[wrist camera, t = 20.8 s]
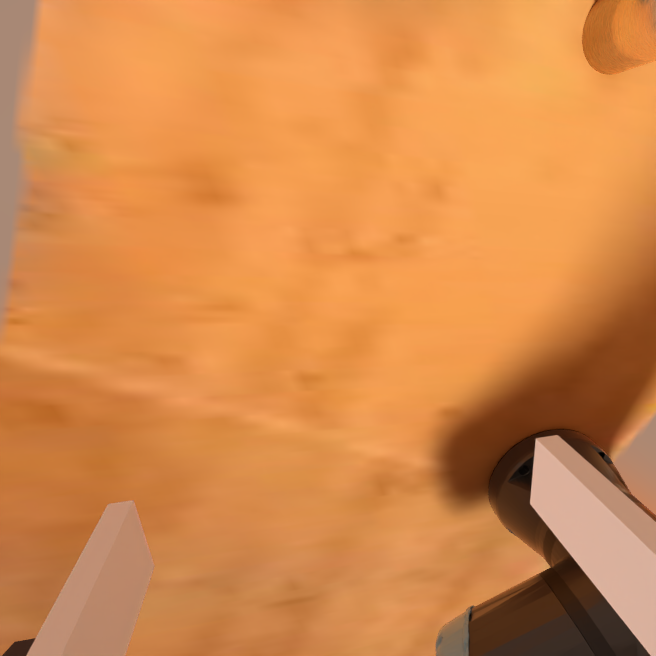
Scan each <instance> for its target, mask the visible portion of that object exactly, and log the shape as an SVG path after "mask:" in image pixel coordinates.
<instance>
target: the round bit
mask: <svg viewBox="0 0 656 656" xmlns="http://www.w3.org/2000/svg"><path fill="white" fill-rule="evenodd" d="M582 44H583V51H584V54H585V57H586V59H587V61H588V63H589V64H590V65H591V66H592V67H593V68H594V69H595V70H596V71H598V72H600V73H603V74H617V73H620V72H623V71H626V70H629V69H632V68H635V67H638V66H641V65H644V64H647V63H650V62H653V61H656V0H598V1H597V2H596V3H595V4H594V6H593V7H592V8H591V10H590V12H589V14H588V16H587V18H586V21H585V24H584V28H583V35H582Z"/></svg>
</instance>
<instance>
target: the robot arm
mask: <svg viewBox="0 0 656 656" xmlns="http://www.w3.org/2000/svg"><path fill="white" fill-rule="evenodd" d="M488 495H489V501H490V505H491V507H492V509H493V511H494V512H495V514H496V515H497V517H498V518H499V520H500V521H501V523H502V524H503V525H504V526H505V527H506V529H508V530H509V531H510V532H511V533H513V534H514V535H516V536H517V537H518V538H520V539H521V540H522V541H523V542H524V543H526V544H527V545H528V546H529V547H531V548H532V549H533V550H534V551H536V552H537V553H538V554H540V555H541V556H542V557H543V558H544V559H545V560H546V561H547V563H548V564H549V565H550V567H551V568H549V569H547V570H545V571H543V572H541V573H539V574H537V575H535V576H533V577H531V578H530V579H528V580H526V581H524V582H522V583H520V584H518V585H516V586H514V587H512V588H510V589H508V590H506V591H505V592H503V593H501V594H499V595H497V596H495V597H493V598H491V599H489V600H487V601H485V602H483V603H482V604H480V605H478V606H476V607H475V606H470V607H469V608H468V609H467V610H466V612H465V613H463V614H461V615H460V616H458V617H456V618H455V619H453V620H452V621H450V622H448V623H447V624H445V625H444V626H443V627H442V628H441V630H440V631H439V633H438V636H437V640H436V656H656V515H655V514H654V513H653V512H651V511H650V510H649V509H648V508H647V507H645V506H644V505H643V504H642V503H641V502H640V501H639V500H637V499H636V498H635V497H634V496H633V495H632V494H631V492H630V490H629V489H628V487H627V485H626V484H625V482H624V480H623V479H622V477H621V476H620V474H619V472H618V471H617V469H616V467H615V466H614V464H613V463H612V461H611V459H610V458H609V456H608V455H607V453H606V452H605V451H604V450H603V449H602V448H601V447H599V446H598V445H597V444H596V443H594V442H593V441H592V440H591V439H590V438H588V437H587V436H585V435H583V434H581V433H579V432H576V431H572V430H564V429H558V430H549V431H545V432H541V433H538V434H535V435H533V436H531V437H529V438H527V439H525V440H523V441H521V442H520V443H518V444H517V445H516V446H514V447H513V448H512V449H511V450H510V451H508V452H507V453H506V454H505V456H504V457H503V458H502V459H501V460H500V462H499V463H498V465H497V466H496V468H495V470H494V472H493V474H492V476H491V479H490V483H489V490H488ZM153 569H154V563H153V560H152V557H151V553H150V550H149V547H148V544H147V541H146V538H145V535H144V531H143V528H142V525H141V522H140V519H139V516H138V513H137V509H136V506H135V503H134V500H132V501H125V502H119V503H112V504H108V505H107V507H106V509H105V511H104V513H103V515H102V516H101V518H100V520H99V522H98V524H97V526H96V528H95V529H94V531H93V533H92V535H91V537H90V539H89V541H88V542H87V544H86V546H85V548H84V550H83V552H82V554H81V555H80V557H79V559H78V561H77V563H76V565H75V566H74V568H73V570H72V572H71V574H70V576H69V578H68V579H67V581H66V583H65V585H64V587H63V589H62V591H61V592H60V594H59V596H58V598H57V600H56V602H55V603H54V605H53V607H52V609H51V611H50V613H49V615H48V616H47V618H46V620H45V622H44V624H43V626H42V628H41V629H40V631H39V633H38V635H37V637H36V638H35V639H29V640H23V641H18V642H14V643H13V644H12V646H11V647H10V648H9V649H8V650H7V651H6V652H5V653H4V654H3V655H2V656H125V655H126V652H127V649H128V646H129V643H130V639H131V636H132V633H133V630H134V627H135V624H136V621H137V618H138V615H139V612H140V609H141V606H142V603H143V600H144V597H145V594H146V591H147V588H148V585H149V582H150V579H151V576H152V573H153Z"/></svg>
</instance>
